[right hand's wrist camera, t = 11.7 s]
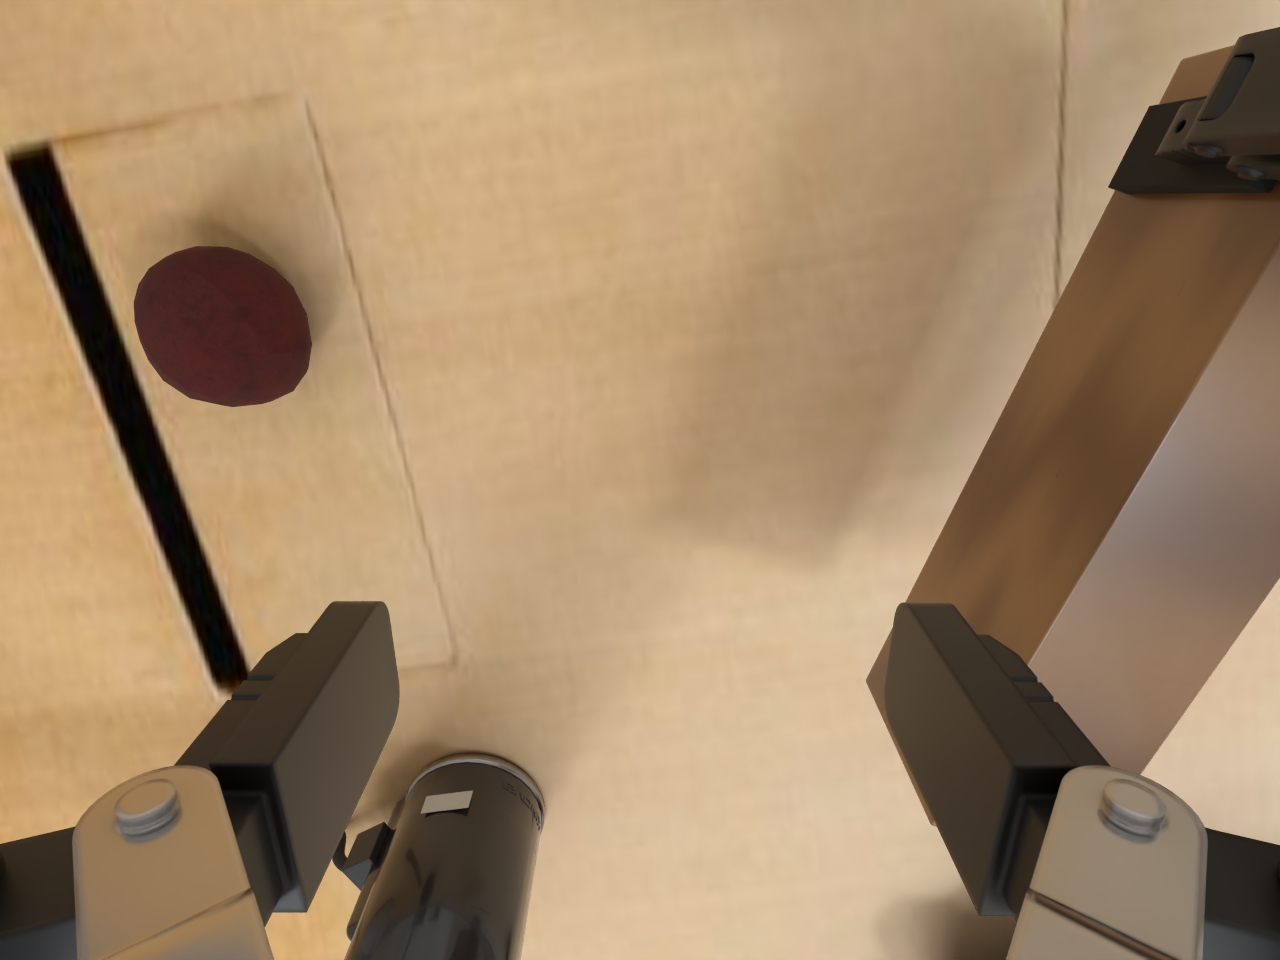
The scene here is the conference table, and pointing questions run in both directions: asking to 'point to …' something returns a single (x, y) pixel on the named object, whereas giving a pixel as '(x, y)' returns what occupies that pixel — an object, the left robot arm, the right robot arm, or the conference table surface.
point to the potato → (222, 326)
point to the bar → (1132, 467)
